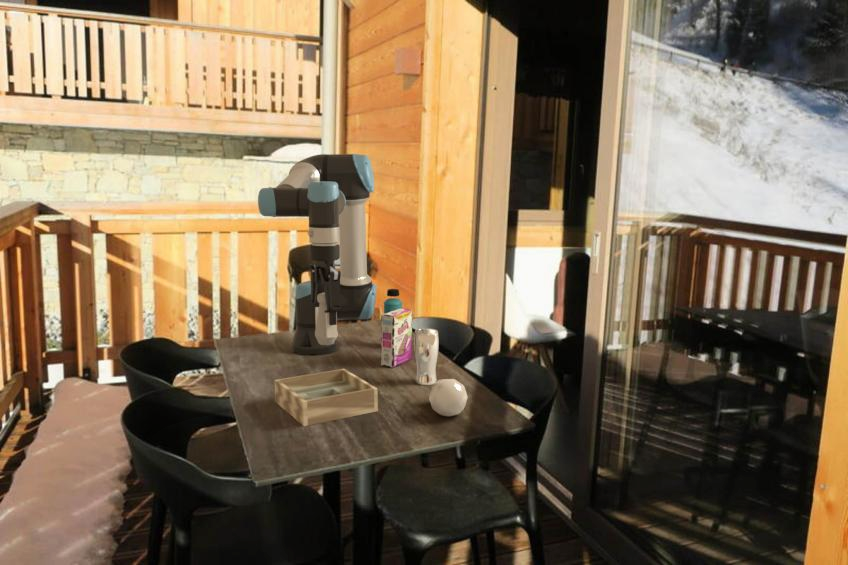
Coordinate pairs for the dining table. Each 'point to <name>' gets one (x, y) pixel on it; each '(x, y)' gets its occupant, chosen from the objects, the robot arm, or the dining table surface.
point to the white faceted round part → (448, 397)
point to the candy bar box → (396, 337)
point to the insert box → (325, 396)
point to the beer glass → (426, 355)
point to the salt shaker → (322, 322)
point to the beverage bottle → (392, 301)
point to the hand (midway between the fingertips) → (326, 334)
